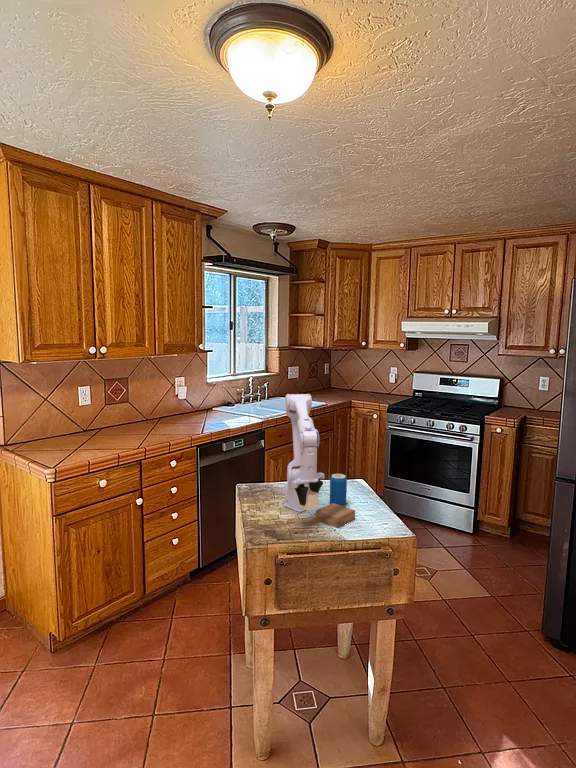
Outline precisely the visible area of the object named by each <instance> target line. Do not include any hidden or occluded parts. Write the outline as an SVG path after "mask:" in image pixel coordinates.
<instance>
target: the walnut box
mask: <svg viewBox="0 0 576 768" xmlns="http://www.w3.org/2000/svg"><path fill="white" fill-rule="evenodd" d="M315 520H316V521H318V522H319V523H323V524H325V525H328V526H330V527H333V528H336V529H338V528H339V529H340V527H341V528H342V527H344V526H346V525H348V524H350V523H352V522H354V521H356V509H352V508H349V507H346V506H341V505H338V504H335V503H332V504H330V503H329V504H328V505H326V506H323V507H321V508H319V509H317V510H316V511H315ZM353 520H354V521H353ZM351 521H352V522H351ZM349 522H350V523H349ZM347 523H348V524H347ZM345 524H346V525H345Z"/></svg>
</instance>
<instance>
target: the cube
mask: <svg viewBox="0 0 576 768" xmlns="http://www.w3.org/2000/svg"><path fill="white" fill-rule="evenodd" d="M298 507H300V508H302V509H305V511H307V512H309V511H312V510H314V509H317V508H319V493H316V492H313V491H311V490H308V491H307V495H306V504H305V506H303V505H300V503H299V499H298Z"/></svg>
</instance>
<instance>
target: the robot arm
mask: <svg viewBox="0 0 576 768" xmlns="http://www.w3.org/2000/svg"><path fill="white" fill-rule="evenodd" d="M284 397H285V399H284V400H285V401H284V403H285V414H286V417H288V418H289V419H290V422H291V427H292V428H291V429H292V446H293V460H292V461H290V462H289V463H288V464H287V466H286V467H287V469H286V471H287V472H286V480H287V481H286V482H287V484H286V485H285V489H284V503H283V505H284V507H285V508H289V509H291V510H294V511H295V512H298V513H303V512H305V511H306V510H305V509H302V508H300V507H298V499H299V503H300V505H303V506H305V504H306V495H307V491H308V490H311V491H313V492H316V493H318V494H319V492H320V490H321V489H322V486H323V485H324V481H323V480H324V479H325V473H324V472H320V471H319V472H318V470H317V469H318V466H317V465H318V448H319V446H320V434H319V431H318V429H316V428H315V425H314V421H313V418H312V417H310V416H309V415H310V412H311V410H312V405H313V404H312V403H313V401H312V394H310V393H305V394H304V393H296V394H294V393H293V394H292V393H291V394H290V393H287V394H286V395H285V396H284Z"/></svg>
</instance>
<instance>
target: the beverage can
mask: <svg viewBox="0 0 576 768" xmlns="http://www.w3.org/2000/svg"><path fill="white" fill-rule="evenodd" d="M347 482H348V479H347V476H346V475H345V474H343V473H333V474H331V476H330V478H329V505H330V504H332V503H335V504H338V505H341V506H344V507H346V505H347V493H348V492H347V489H348V488H347V485H348V483H347Z"/></svg>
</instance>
